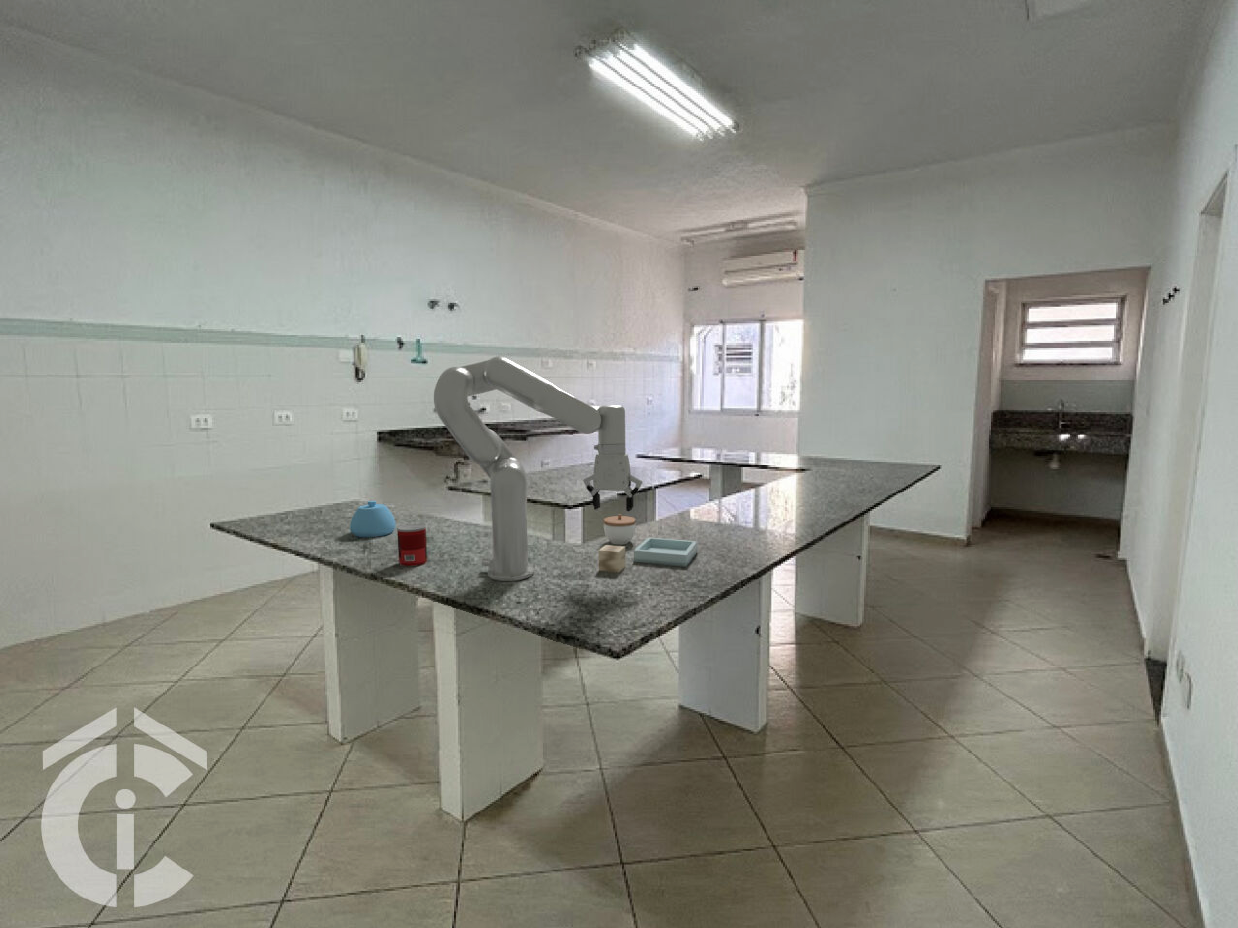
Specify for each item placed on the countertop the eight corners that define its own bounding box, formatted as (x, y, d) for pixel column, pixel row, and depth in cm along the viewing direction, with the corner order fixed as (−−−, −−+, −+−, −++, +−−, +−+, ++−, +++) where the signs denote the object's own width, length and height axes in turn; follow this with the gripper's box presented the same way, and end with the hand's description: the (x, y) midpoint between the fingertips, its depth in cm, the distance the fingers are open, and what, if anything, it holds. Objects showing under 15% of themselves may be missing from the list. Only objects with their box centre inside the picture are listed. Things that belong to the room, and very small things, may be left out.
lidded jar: (618, 548, 199) (618, 519, 197) (597, 541, 207) (596, 514, 205) (642, 542, 206) (642, 514, 204) (621, 536, 214) (621, 509, 212)
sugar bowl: (341, 537, 213) (339, 504, 212) (366, 527, 228) (364, 496, 226) (381, 539, 211) (379, 506, 209) (403, 528, 225) (402, 497, 224)
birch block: (598, 570, 176) (598, 550, 175) (605, 564, 181) (605, 544, 181) (618, 572, 174) (618, 552, 173) (625, 566, 180) (625, 546, 179)
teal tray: (633, 561, 184) (633, 550, 183) (648, 547, 199) (648, 537, 198) (686, 566, 179) (686, 555, 178) (697, 552, 194) (697, 541, 194)
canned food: (432, 562, 184) (430, 526, 182) (407, 568, 178) (405, 531, 177) (419, 557, 189) (417, 522, 188) (394, 563, 183) (392, 526, 182)
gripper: (578, 450, 172) (579, 510, 175) (637, 451, 167) (638, 513, 169) (588, 447, 179) (589, 505, 182) (645, 448, 174) (645, 508, 176)
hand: (613, 509), depth 175 cm, fingers open, 9 cm apart
